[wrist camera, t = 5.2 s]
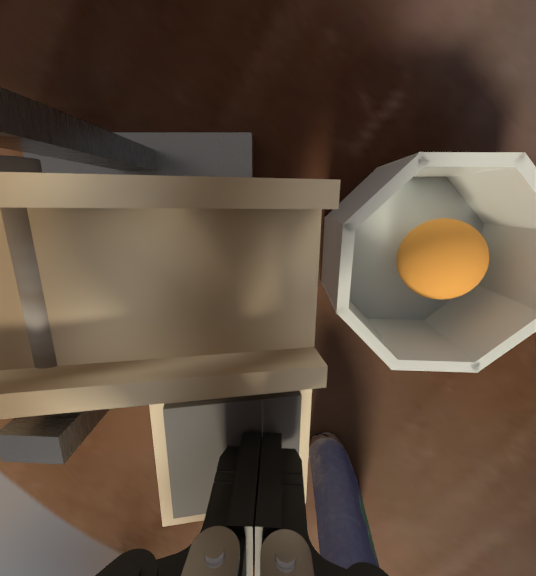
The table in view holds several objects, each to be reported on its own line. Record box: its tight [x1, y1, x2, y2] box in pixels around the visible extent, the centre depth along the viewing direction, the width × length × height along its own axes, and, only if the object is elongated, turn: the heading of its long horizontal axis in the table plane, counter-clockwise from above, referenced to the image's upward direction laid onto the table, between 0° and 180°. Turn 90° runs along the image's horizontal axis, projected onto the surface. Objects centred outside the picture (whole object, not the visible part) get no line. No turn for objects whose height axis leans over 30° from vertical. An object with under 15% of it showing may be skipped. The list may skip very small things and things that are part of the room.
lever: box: [0, 155, 341, 527], centre depth 10 cm, size 18×14×3 cm
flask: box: [309, 432, 379, 569], centre depth 17 cm, size 9×3×11 cm, turn 15°
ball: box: [397, 218, 489, 300], centre depth 15 cm, size 4×4×4 cm
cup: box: [321, 152, 536, 373], centre depth 15 cm, size 9×9×6 cm
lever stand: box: [0, 87, 254, 464], centre depth 13 cm, size 12×12×11 cm
